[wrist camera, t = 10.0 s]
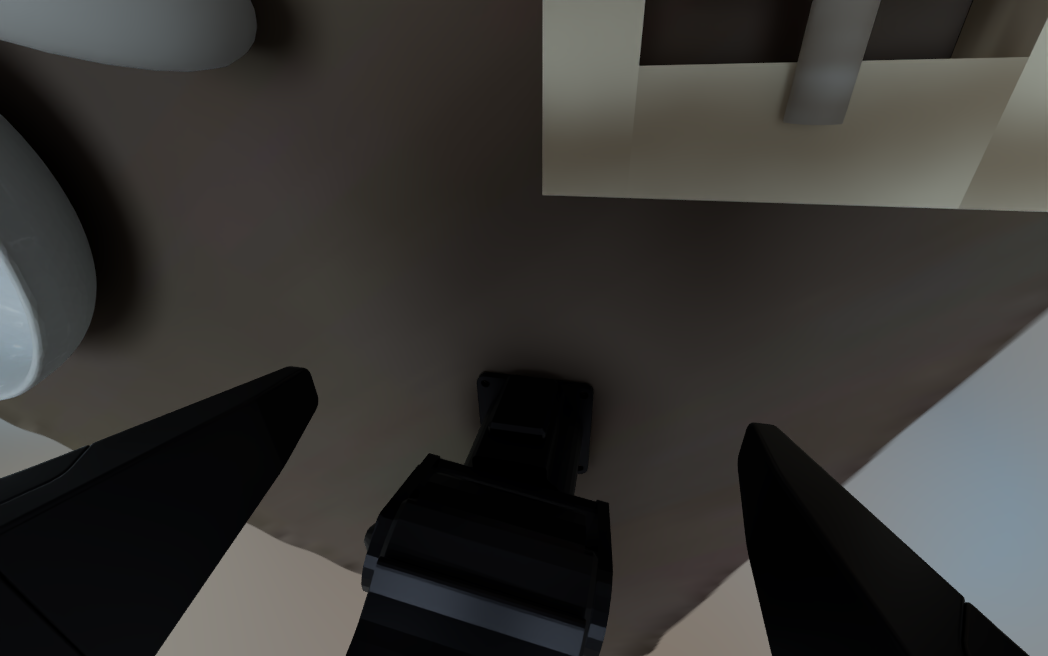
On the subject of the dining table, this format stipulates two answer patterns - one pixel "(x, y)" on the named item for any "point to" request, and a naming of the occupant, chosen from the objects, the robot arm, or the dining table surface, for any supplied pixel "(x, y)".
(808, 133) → the grey square tray
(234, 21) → the donut
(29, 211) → the serving bowl
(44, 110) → the dining table surface
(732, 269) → the dining table surface
